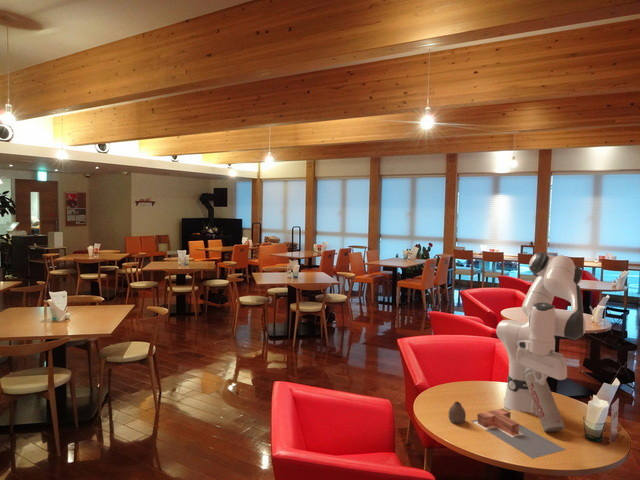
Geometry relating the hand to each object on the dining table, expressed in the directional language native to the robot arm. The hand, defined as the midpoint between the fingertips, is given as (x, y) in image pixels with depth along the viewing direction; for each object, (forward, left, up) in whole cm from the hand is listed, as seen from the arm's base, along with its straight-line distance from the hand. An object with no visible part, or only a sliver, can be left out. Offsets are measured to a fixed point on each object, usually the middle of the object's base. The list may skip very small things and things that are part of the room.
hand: (539, 383), depth 171 cm
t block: (+1, -16, -24) cm, 28 cm away
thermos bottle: (-14, -4, -22) cm, 26 cm away
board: (+1, -9, -25) cm, 26 cm away
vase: (+15, -27, -25) cm, 40 cm away
